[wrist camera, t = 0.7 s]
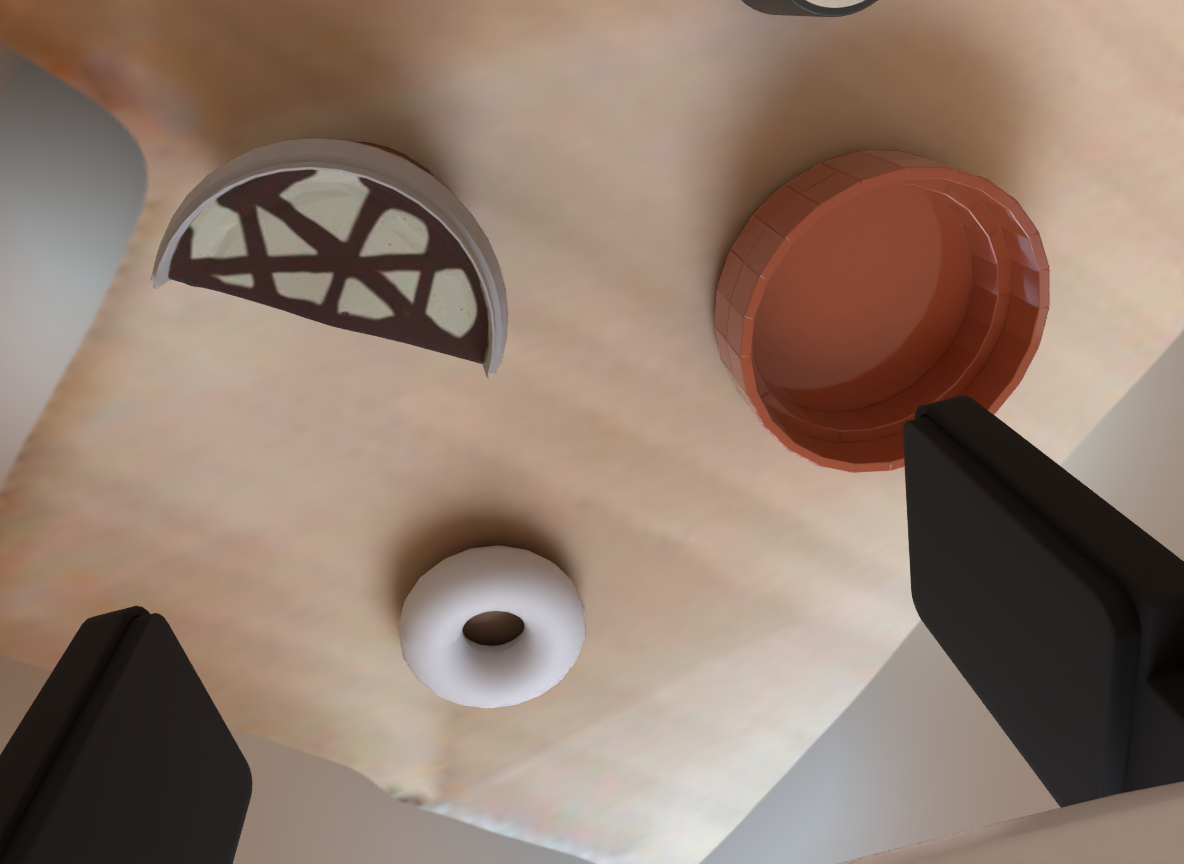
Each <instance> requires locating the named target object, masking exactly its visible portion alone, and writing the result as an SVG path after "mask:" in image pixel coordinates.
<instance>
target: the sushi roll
mask: <svg viewBox="0 0 1184 864" xmlns="http://www.w3.org/2000/svg"><path fill="white" fill-rule="evenodd" d="M742 1H743V2H744V3H745V4H746V5H748V6H750V7H751V8H753V9H755V10H757V11H760V12H763V13H767V14H773V15H791V16H816V17H840V16H845V15H850V14H853V13H856V12H858V11H861V10H863V9H865V8H867V7H869V6H870V5H872V4H873V3H875V2H876V1H878V0H742Z"/></svg>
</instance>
